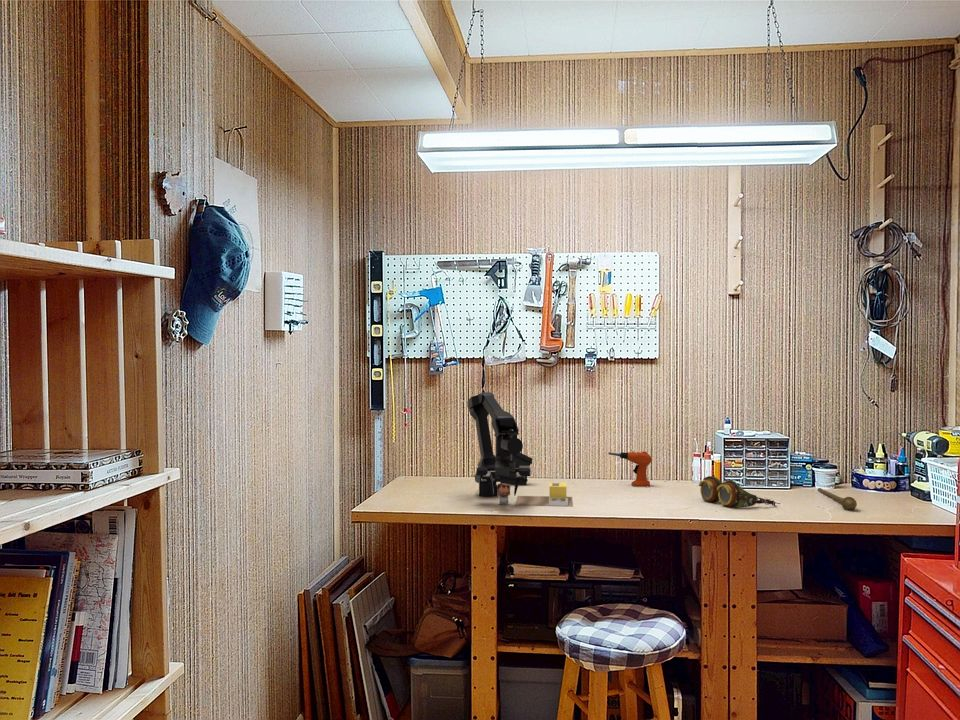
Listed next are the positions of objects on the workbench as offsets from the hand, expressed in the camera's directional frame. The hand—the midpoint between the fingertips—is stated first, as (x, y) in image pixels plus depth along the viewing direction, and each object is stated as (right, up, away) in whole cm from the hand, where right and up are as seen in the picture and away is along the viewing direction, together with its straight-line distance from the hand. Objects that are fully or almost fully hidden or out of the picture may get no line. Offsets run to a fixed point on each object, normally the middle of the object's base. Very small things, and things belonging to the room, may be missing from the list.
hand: (503, 495), depth 246 cm
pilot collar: (+19, -3, 0) cm, 19 cm away
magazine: (+6, -4, +42) cm, 42 cm away
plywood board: (+15, -4, +4) cm, 16 cm away
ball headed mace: (+120, -4, +8) cm, 121 cm away
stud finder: (+20, -3, +8) cm, 22 cm away
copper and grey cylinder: (0, -4, 0) cm, 4 cm away
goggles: (+84, -4, +6) cm, 85 cm away
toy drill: (+52, -4, +39) cm, 65 cm away
